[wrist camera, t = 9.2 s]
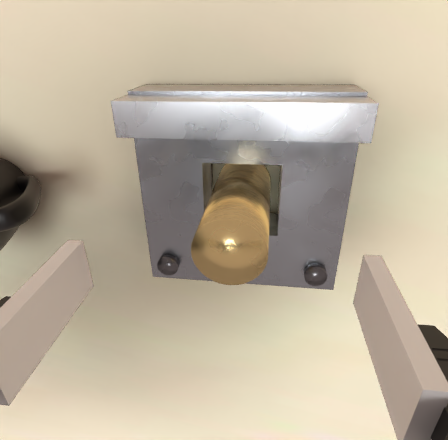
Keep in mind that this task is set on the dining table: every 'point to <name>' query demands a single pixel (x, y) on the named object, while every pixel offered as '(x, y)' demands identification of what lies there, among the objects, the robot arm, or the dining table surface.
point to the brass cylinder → (235, 226)
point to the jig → (248, 154)
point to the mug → (16, 199)
